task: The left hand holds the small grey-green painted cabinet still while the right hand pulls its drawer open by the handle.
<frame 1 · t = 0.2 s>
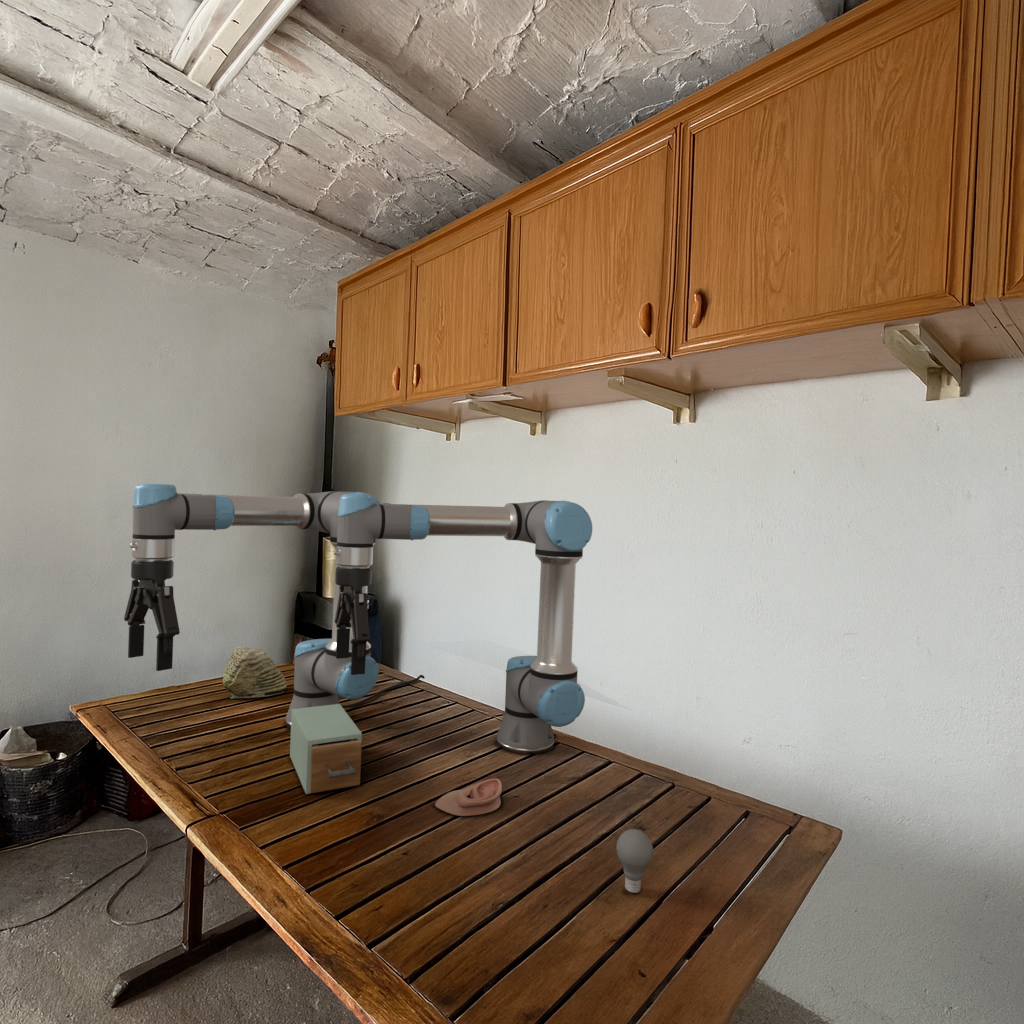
left hand: (149, 663, 129), 28 cm above the table, tool pointing down, fingers open, 13 cm apart
right hand: (349, 665, 135), 28 cm above the table, tool pointing down, fingers open, 13 cm apart
cabinet: (323, 769, 147), on the table
anatomical model: (468, 804, 133), on the table
light bulb: (632, 891, 106), on the table
fossil: (254, 694, 198), on the table
drawer: (329, 754, 142), point 6 cm above the table, slide at 0.9 cm
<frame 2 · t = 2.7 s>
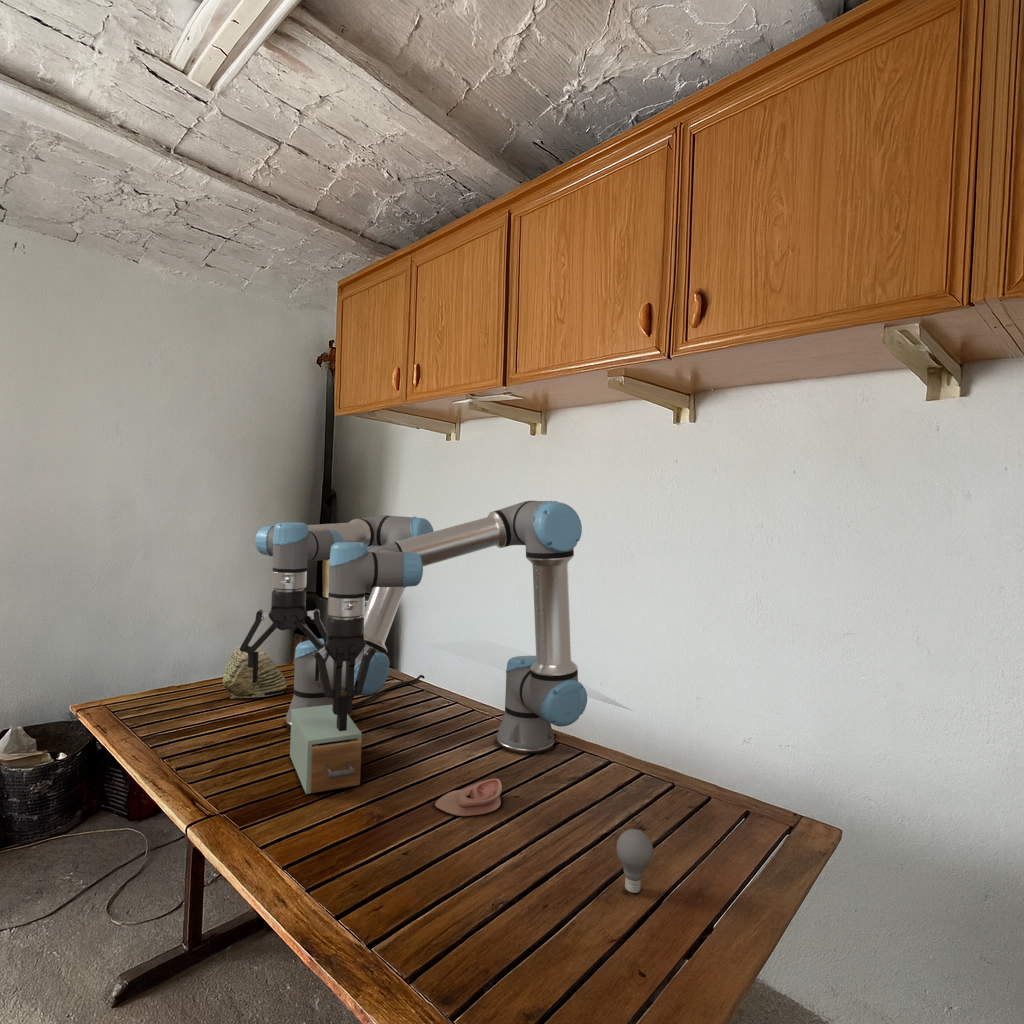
left hand: (286, 680, 147), 20 cm above the table, tool pointing down, fingers open, 13 cm apart
right hand: (341, 728, 132), 15 cm above the table, tool pointing down, fingers closed
nothing on the table moved.
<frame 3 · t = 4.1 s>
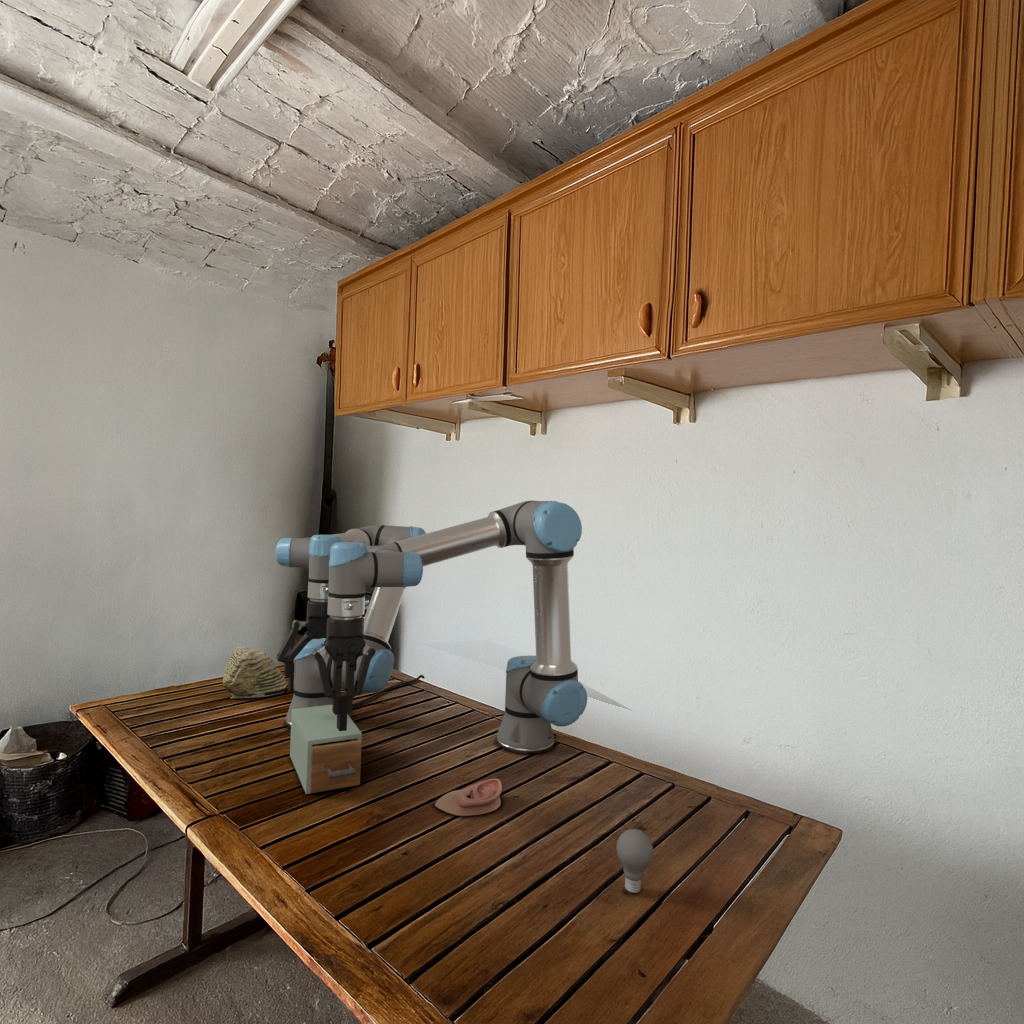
left hand: (320, 687, 152), 17 cm above the table, tool pointing down, fingers open, 13 cm apart
right hand: (341, 728, 132), 15 cm above the table, tool pointing down, fingers closed
nothing on the table moved.
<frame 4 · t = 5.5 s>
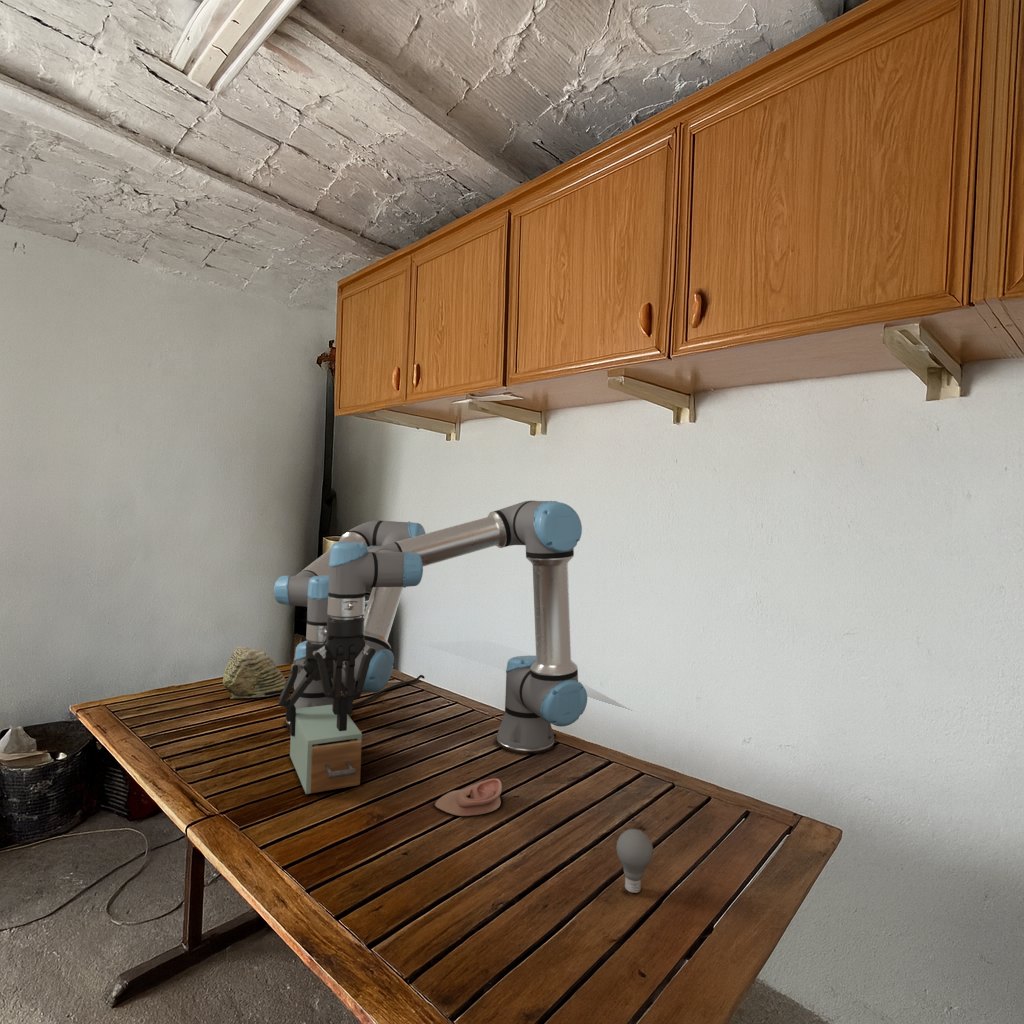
left hand: (319, 730, 152), 7 cm above the table, tool pointing down, fingers closed on cabinet, 12 cm apart
right hand: (341, 728, 132), 15 cm above the table, tool pointing down, fingers closed
cabinet: (323, 769, 147), on the table, touching left hand
everything else where it was.
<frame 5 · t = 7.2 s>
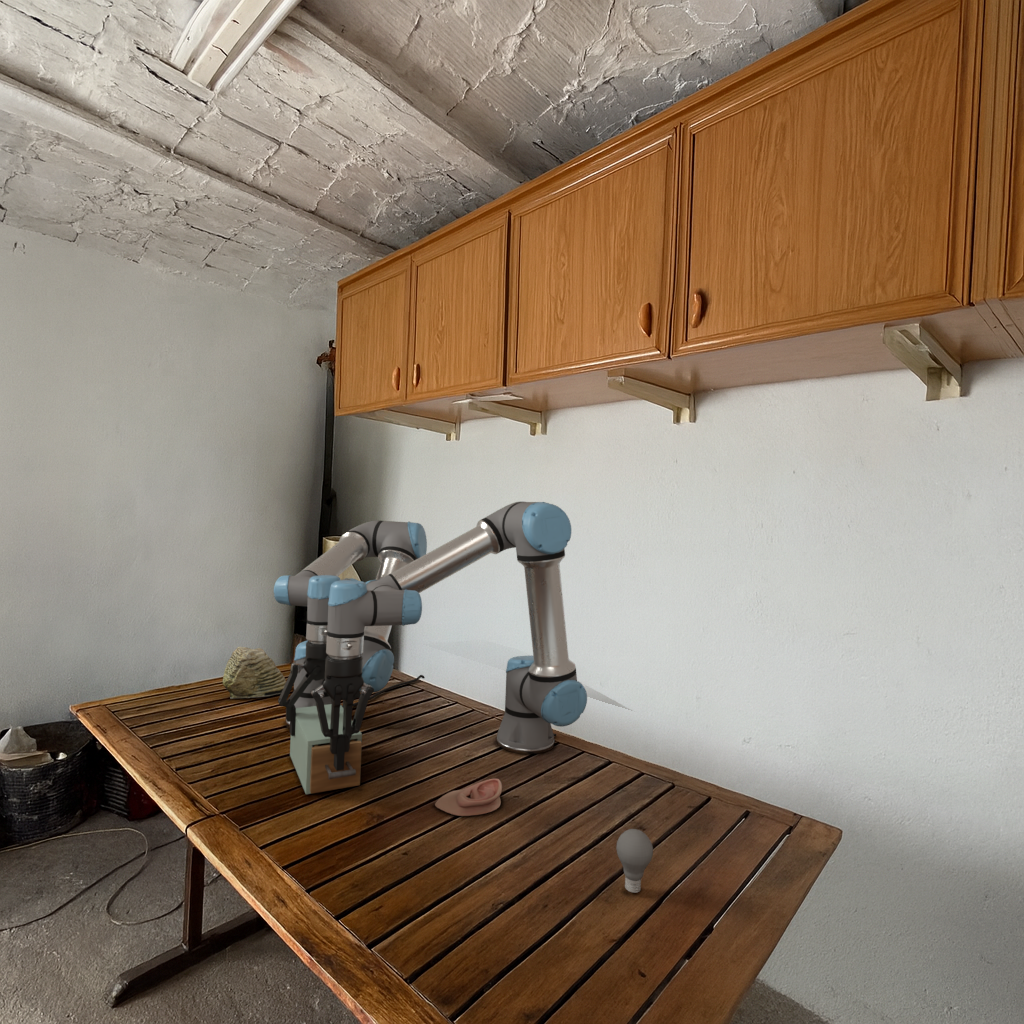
left hand: (319, 730, 152), 7 cm above the table, tool pointing down, fingers closed on cabinet, 12 cm apart
right hand: (338, 767, 132), 7 cm above the table, tool pointing down, fingers closed
cabinet: (323, 769, 147), on the table, touching left hand
drawer: (329, 754, 142), point 6 cm above the table, slide at 0.9 cm, touching right hand
everything else where it was.
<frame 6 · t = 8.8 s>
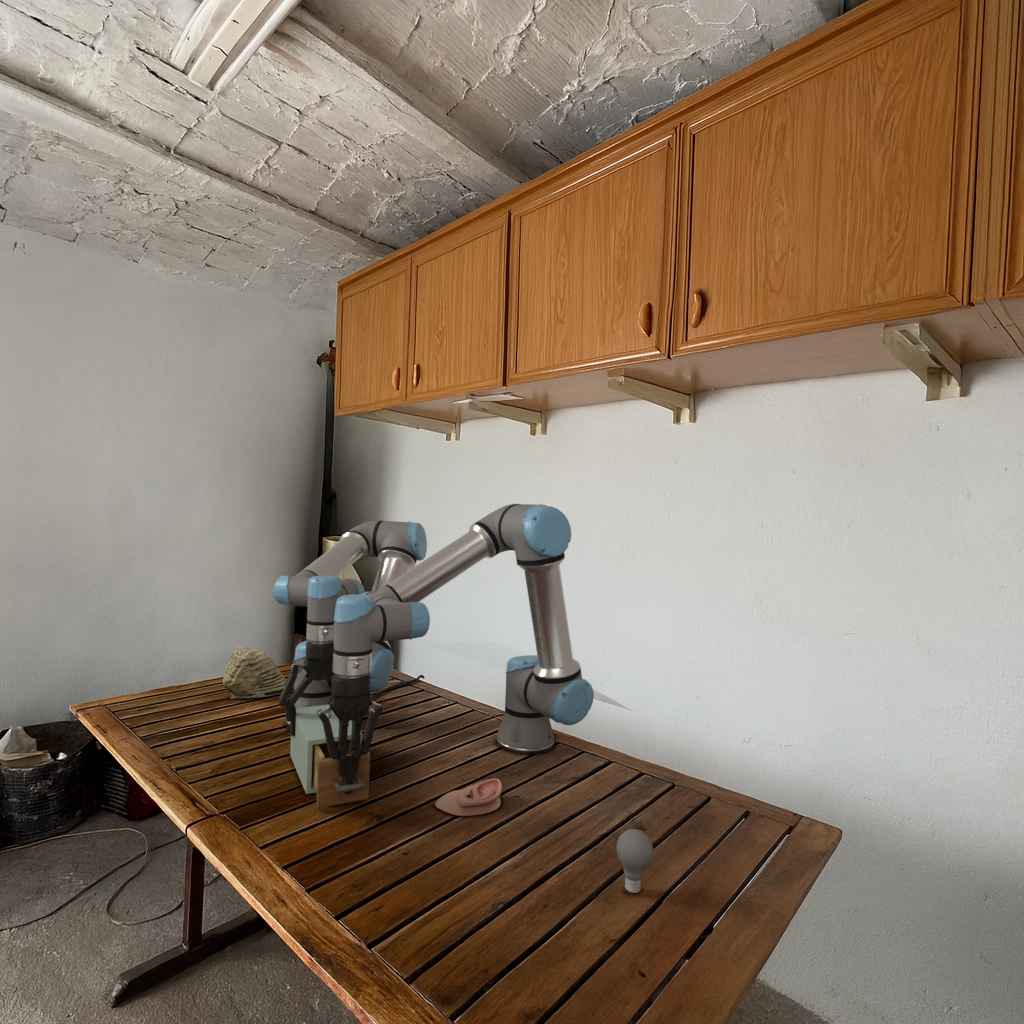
left hand: (319, 730, 152), 7 cm above the table, tool pointing down, fingers closed on cabinet, 12 cm apart
right hand: (347, 790, 127), 5 cm above the table, tool pointing down, fingers closed
cabinet: (323, 769, 147), on the table, touching left hand
drawer: (336, 766, 136), point 6 cm above the table, slide at 7.7 cm, touching right hand
everything else where it was.
when the left hand's fingers open (7 cm above the table, at t = 10.5 s): cabinet stays where it is, on the table.
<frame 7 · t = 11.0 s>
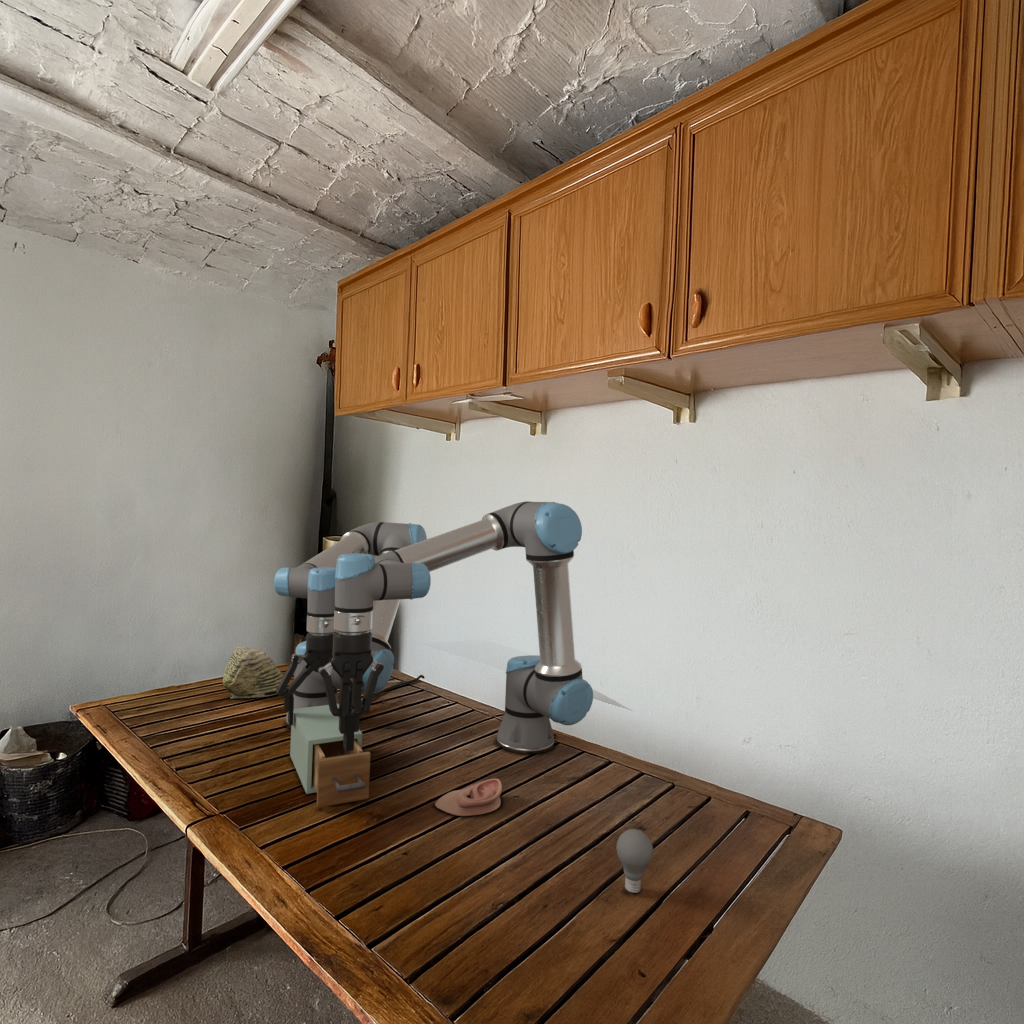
left hand: (320, 720, 153), 9 cm above the table, tool pointing down, fingers open, 13 cm apart
right hand: (348, 748, 127), 13 cm above the table, tool pointing down, fingers closed
cabinet: (323, 769, 147), on the table
drawer: (336, 766, 136), point 6 cm above the table, slide at 7.7 cm
everything else where it was.
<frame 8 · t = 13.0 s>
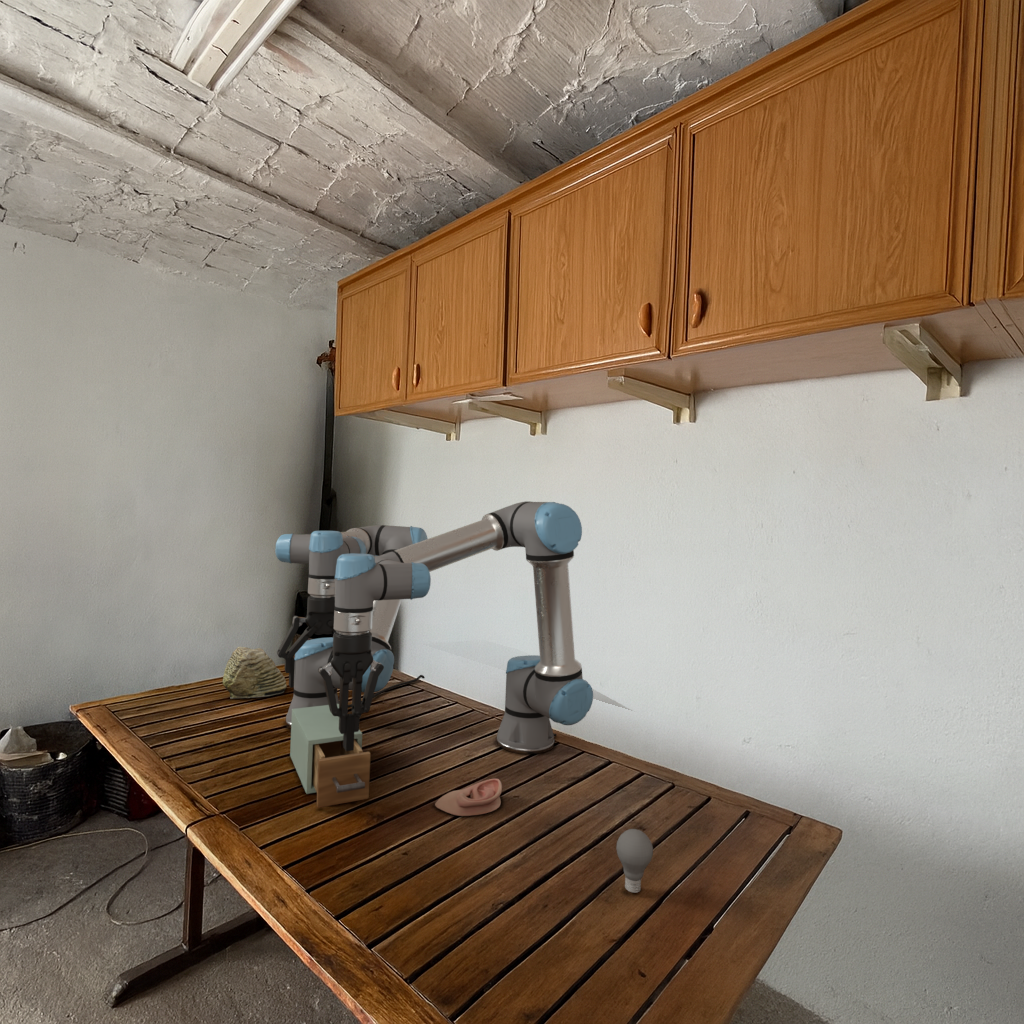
left hand: (320, 683, 152), 18 cm above the table, tool pointing down, fingers open, 13 cm apart
right hand: (348, 748, 127), 13 cm above the table, tool pointing down, fingers closed
nothing on the table moved.
at the end: drawer slide at 7.7 cm; cabinet tilted 0°; cabinet never tilted more than 1° during the clip; cabinet moved 0.1 cm from its start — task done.
